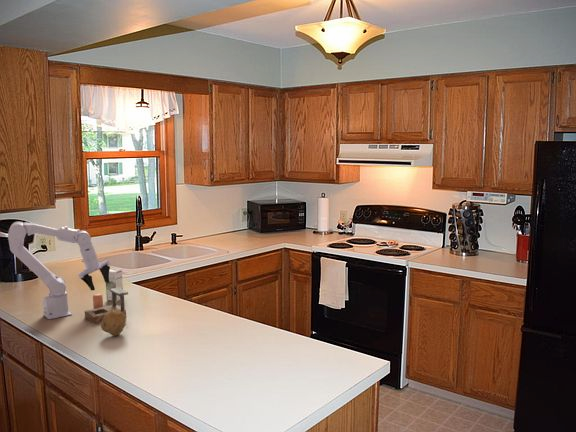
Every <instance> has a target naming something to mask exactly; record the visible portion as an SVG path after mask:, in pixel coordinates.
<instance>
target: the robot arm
mask: <svg viewBox="0 0 576 432" xmlns="http://www.w3.org/2000/svg"><path fill="white" fill-rule="evenodd" d="M35 234H37V235H45V236H50V237H56V239H57V240H58V241H60V242H66V243H71V244H77V245H78V247H79V251H80V254H81V257H82V260H83V263H84V266H85V268H86V269H84V270H82V271H80V272H79V273H78V278H79V279H80V280H81V281H83V282H84V283H85V284H86V285H87V286H88V288H89V289H90V291H95V290H96V288H95V285H94V282H93V277H92V275H90V274H92V273H94V272H96V271H99V272H100V273H101V275H102V277H103V280H104V283H105V284H106V283H109V270H110V269H111V266H110V262H109V260H106V259H105V260H104V261H101V262H100V261H99V258H98V255H97V252H96V249H95V246H94V245H93V242H92V237H91V235H90V234H89V233H88V232H87V231H85V230H84V229H81V230H80V228H79V229H78V228H77V229H73V228H69V226H66V225H65V226H61V227H59V228H53V227H50V226H45V225H41V224H37V223H33V222H23V221H19V220H18V221H14V222H13V223H12V224H11V225H10V227H9V228H8V232H7V240H8V245H9V250H10V252H11V253H12V254H13V255H14V256H15V257H16V258H17V259H19V260H20V262H22V263H23V264H24V265H25V266H26V268H28V269H30V271H32V273H33V274H35V275H36V276H37V277H38V278H39V279H40V280H41V281H42V282H43V283H44V285H45V286H46V287H47V288H48V290H49V293H48V295H47V296H44V297H43V298H42V306H43V307H42V309H43V316H44V317H45V318H46V319H47V320H51V319H52V320H53V319H57V318H62V317H63V318H64V317H67V316H72V313H71V312H70V311H69V303H68V302H69V301H68V292H67V287H66V281H65V279H64V278H62V277H60V276H58V275H56V274H55V273H54V272H52V271H50V269H48V268H47V267H46V265H44V264H43V263H42V262H41V261H40V260H39V259H38V258H37V257H36V256H35V255H34V254H33V253H32V252H31V251H30V250H28V248H26V247H25V246H24V244H25V243H24V242H25V237H26V235H27V236H28V237H29V236H31V235H35Z"/></svg>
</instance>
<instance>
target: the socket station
mask: <svg viewBox="0 0 576 432" xmlns="http://www.w3.org/2000/svg"><path fill="white" fill-rule="evenodd" d="M110 292H112V301H111V302H112V305H106V306H103V307H100V308H95V309H94V308H92V309H87V310H84V318H85V319H86V320H88V321H89V322H90V323H92V324H93V325H98V324H101V322H102V320H103V318H104V316H105V314H106V313H108V312H109V311H112V310H117V311H121V312H122V313H123V314H124V315H125V317H126V318H127V309H126V308H125V296H126V295H129V292H128V291H127V290H125V289H124V288H123V289H121V288H119V287H118V288H112V289H110ZM116 295H118V296H120V300H119V301H120V303H119V304H120V306H119V305H118V304H117V301H116Z"/></svg>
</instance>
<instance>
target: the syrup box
mask: <svg viewBox="0 0 576 432" xmlns="http://www.w3.org/2000/svg"><path fill="white" fill-rule="evenodd" d="M123 283H124V282H123V269H122V268H111V267H110V270H109V283H105V292H106V301H107V300H108V301H110V302H112V292H110V289H112V288H118V287H119V288H121V289H123V290H124V284H123ZM118 300H119V301H120V296H118V295H116V302H119V301H118Z"/></svg>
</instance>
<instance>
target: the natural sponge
mask: <svg viewBox="0 0 576 432" xmlns="http://www.w3.org/2000/svg"><path fill="white" fill-rule="evenodd" d="M126 321H127V316H126V317H125V315H124V314H123V313H122V312H121V311H117V310H112V311H109V312H108V313H106V314H105V316H104V318H103V320H102V322H101V323H100V327H101V331H104V332H106V333H108V334H110V335H111V336H113V337H118V336H119V335H120V334H121V333H122V332H123V330H124V329H125V326H126Z"/></svg>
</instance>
